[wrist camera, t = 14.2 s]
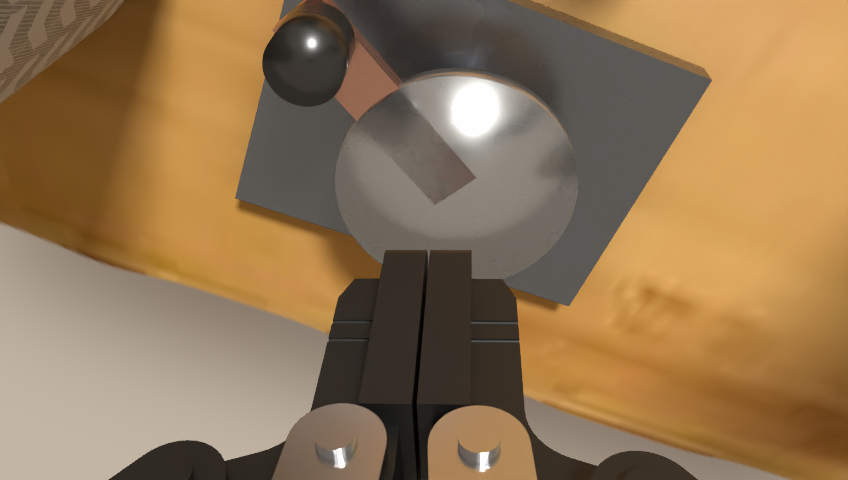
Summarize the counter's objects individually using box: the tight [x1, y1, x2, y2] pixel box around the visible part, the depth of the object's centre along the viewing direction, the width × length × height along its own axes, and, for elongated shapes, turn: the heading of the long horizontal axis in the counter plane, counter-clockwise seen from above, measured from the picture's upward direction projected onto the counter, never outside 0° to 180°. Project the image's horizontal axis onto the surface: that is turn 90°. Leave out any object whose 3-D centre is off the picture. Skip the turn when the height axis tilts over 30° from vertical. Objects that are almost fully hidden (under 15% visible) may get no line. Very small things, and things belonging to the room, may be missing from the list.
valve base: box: [235, 0, 712, 306], centre depth 36 cm, size 20×15×5 cm
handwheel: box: [262, 0, 578, 279], centre depth 31 cm, size 16×11×4 cm
